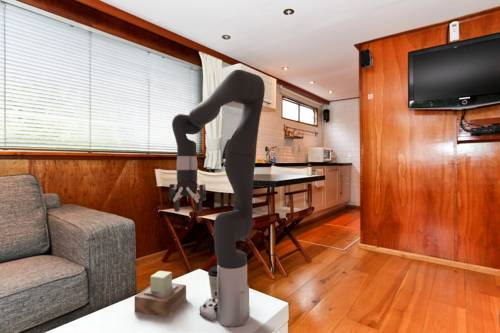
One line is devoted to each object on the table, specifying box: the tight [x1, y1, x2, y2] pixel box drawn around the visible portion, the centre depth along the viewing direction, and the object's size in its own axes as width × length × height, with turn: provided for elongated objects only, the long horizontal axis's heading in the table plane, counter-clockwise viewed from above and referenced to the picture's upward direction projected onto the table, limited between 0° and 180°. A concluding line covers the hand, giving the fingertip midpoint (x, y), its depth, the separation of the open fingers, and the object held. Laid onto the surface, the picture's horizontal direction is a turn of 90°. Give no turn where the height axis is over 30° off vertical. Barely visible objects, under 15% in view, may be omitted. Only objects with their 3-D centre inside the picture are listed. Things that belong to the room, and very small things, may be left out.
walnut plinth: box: [134, 282, 187, 318], centre depth 93 cm, size 12×12×6 cm
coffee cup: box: [207, 265, 217, 299], centre depth 99 cm, size 7×7×10 cm
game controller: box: [199, 298, 218, 321], centre depth 89 cm, size 10×5×6 cm
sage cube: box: [149, 270, 173, 293], centre depth 93 cm, size 5×5×5 cm
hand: (187, 211), depth 102 cm, fingers open, 8 cm apart
